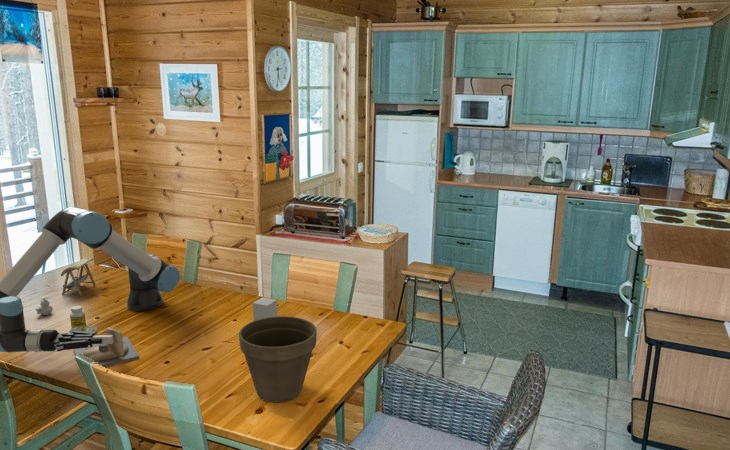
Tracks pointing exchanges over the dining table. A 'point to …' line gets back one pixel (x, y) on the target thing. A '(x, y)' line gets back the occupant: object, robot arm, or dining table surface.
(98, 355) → the dial
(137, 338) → the dining table surface
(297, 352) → the plant pot
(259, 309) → the supplement box
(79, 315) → the supplement bottle
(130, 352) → the dial plate
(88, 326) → the decorated donut
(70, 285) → the swing bench
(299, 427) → the dining table surface
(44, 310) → the white animal figurine
